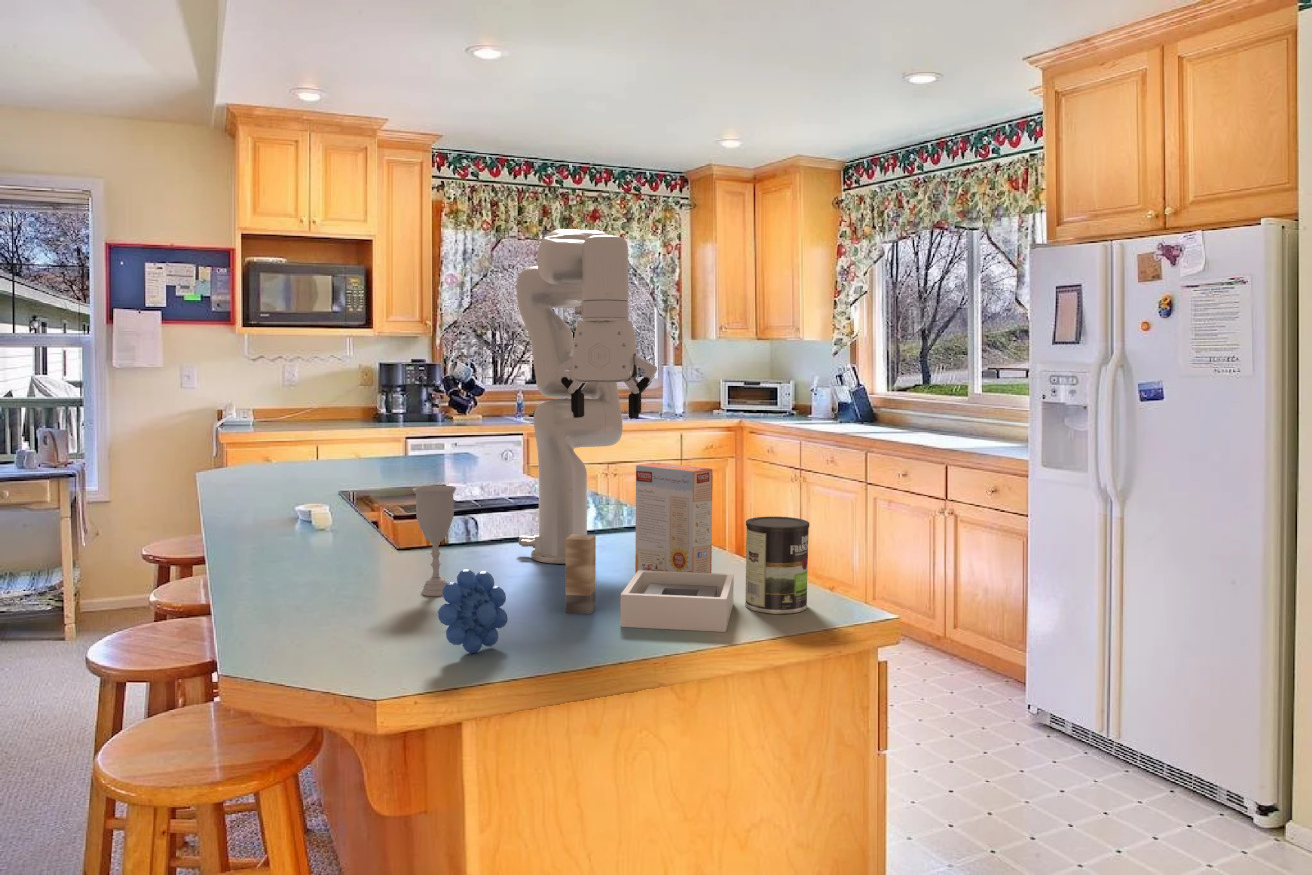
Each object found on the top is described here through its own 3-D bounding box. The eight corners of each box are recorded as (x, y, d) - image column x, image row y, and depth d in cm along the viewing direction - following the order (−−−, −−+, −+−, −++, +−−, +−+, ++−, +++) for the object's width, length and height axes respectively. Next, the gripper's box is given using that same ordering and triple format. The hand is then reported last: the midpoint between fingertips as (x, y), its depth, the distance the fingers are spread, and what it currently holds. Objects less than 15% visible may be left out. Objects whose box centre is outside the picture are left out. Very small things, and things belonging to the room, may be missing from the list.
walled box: (620, 626, 149) (620, 594, 148) (637, 599, 164) (638, 570, 164) (726, 631, 146) (726, 599, 146) (733, 603, 162) (733, 574, 162)
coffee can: (817, 603, 163) (819, 519, 161) (791, 618, 154) (793, 529, 153) (761, 594, 168) (762, 513, 167) (733, 608, 160) (734, 522, 158)
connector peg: (565, 613, 156) (565, 538, 155) (571, 606, 160) (571, 534, 159) (590, 614, 156) (590, 539, 154) (595, 607, 159) (595, 534, 158)
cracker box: (713, 583, 176) (714, 467, 174) (691, 589, 172) (692, 470, 170) (656, 570, 186) (656, 460, 184) (634, 575, 181) (634, 463, 179)
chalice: (419, 599, 164) (418, 492, 162) (410, 589, 170) (408, 487, 168) (462, 594, 167) (461, 489, 165) (451, 585, 173) (450, 484, 171)
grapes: (460, 670, 129) (459, 580, 128) (428, 659, 133) (427, 572, 132) (526, 649, 138) (526, 565, 136) (495, 639, 142) (494, 558, 141)
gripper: (547, 313, 159) (548, 418, 160) (648, 310, 154) (648, 419, 155) (565, 315, 166) (566, 416, 167) (662, 313, 161) (663, 417, 162)
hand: (606, 417), depth 161 cm, fingers open, 9 cm apart
